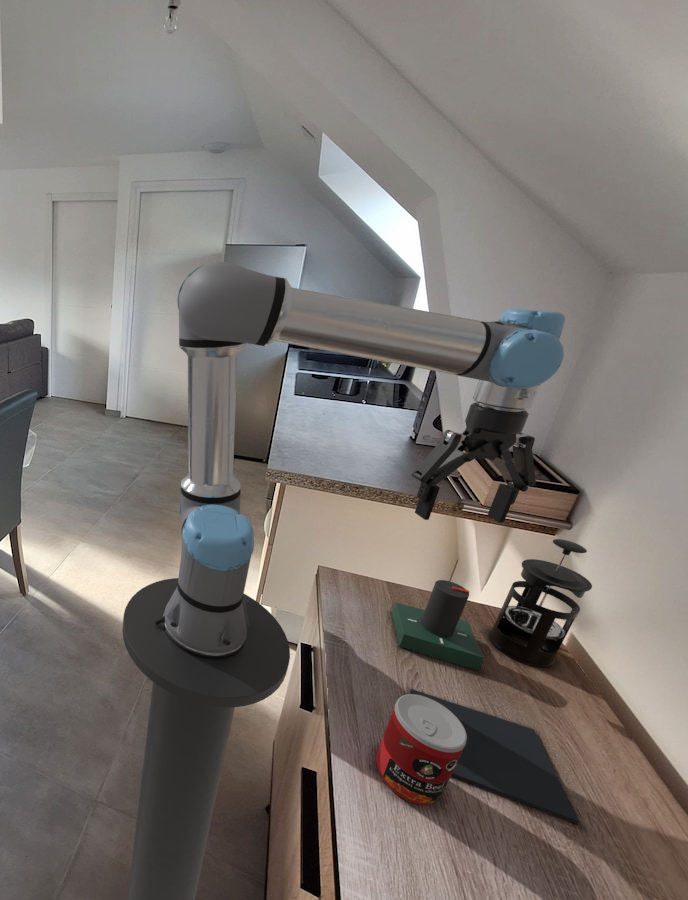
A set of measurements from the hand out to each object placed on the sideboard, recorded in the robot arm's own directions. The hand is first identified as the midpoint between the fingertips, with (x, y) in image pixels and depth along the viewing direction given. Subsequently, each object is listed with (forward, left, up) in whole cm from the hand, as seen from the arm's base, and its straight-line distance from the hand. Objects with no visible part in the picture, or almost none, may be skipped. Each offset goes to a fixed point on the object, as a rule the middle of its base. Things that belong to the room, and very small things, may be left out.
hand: (458, 517), depth 83 cm
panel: (+1, -5, -24) cm, 24 cm away
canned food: (-8, -38, -24) cm, 46 cm away
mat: (+3, -28, -24) cm, 37 cm away
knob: (+1, -5, -21) cm, 21 cm away
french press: (+16, +1, -24) cm, 29 cm away
